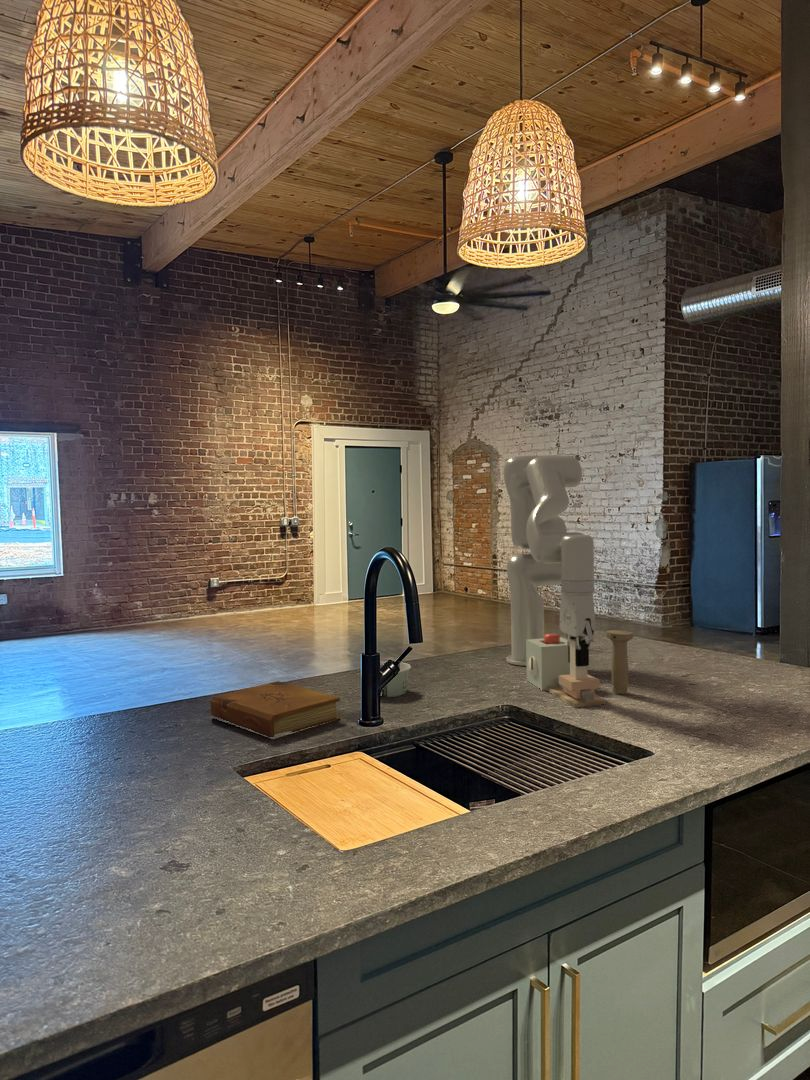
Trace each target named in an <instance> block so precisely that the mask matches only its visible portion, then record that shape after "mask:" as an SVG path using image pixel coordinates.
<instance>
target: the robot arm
mask: <svg viewBox="0 0 810 1080" xmlns="http://www.w3.org/2000/svg"><path fill="white" fill-rule="evenodd" d="M579 461H580V460H578V458H576V457H575V456H573V455H563V454H561V455H560V454H559V455H558V454H555V455H543V454H542V455H534V454H533V455H532V454H531V455H518V456H513V457H510V458H508V459H507V460H506V462H505V464H504V466H503V481H504V484H505V488H506V490H507V493H508V498H509V502H510V533H511V536H510V537H511V542H512V544H513V546H514V547H515V548H517V549H520V550H521V549H526V550H529V551H530V553H520V554H514V555H513V556H511V557H510V558H509V559H508V560H507V563H506V574H507V578H508V586H509V595H510V596H509V597H510V631H511V632H510V635H511V638H510V639H511V640H510V642H511V646H510V647H511V654H509V655H507V656H506V657H505V658H506V662H507V663H508V664H510V665H516V666H523V667H524V666H525V667H526V640H528V639H542V638H544V634H545V608H544V607H545V606H544V605H545V604H544V600H543V597H542V596H541V594H540V593H539V592H538V591H537V590H536V588H537V587H542V586H543V587H545V586H547V587H549V586H559V585H561V587H560V589H561V596H560V604H559V630H560V631H561V632H562V633H563V634H565V635H566V636H565V637H566V639H567V645H568V662H569V663H570V639H576V642H577V649H575V665H576V666H577V667H579V666H587V667H588V666H590V665H589V664H590V649H591V647H590V645H591V644H592V643H593V642H594V635H595V633H596V613H595V612H596V611H595V602H594V595H593V594H595V560H594V559H595V553H594V552H595V549H594V548H595V546H594V538H593V537H592V536H591V535H588V534H584V533H582V532H579V531H574V532H570V531H569V532H568V530H567V526H566V523H565V521H564V520H563V518H562V517H560V516H559V515H561V514H562V513H564V512H565V511H566V510H567V508H568V507H569V504H570V499H569V496H568V495H569V494H568V493H567V490H566V488H576V487H577V486H579V485H580V483H581V481H582V478H583V469H582V466H581V464H580V463H581V462H579ZM581 639H584V640H582V641H581Z"/></svg>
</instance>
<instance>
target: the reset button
mask: <svg viewBox="0 0 810 1080" xmlns="http://www.w3.org/2000/svg"><path fill="white" fill-rule="evenodd" d="M560 637H561V636H560V634H558V633H544V643H545V644H559V643H560Z"/></svg>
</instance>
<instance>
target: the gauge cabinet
mask: <svg viewBox="0 0 810 1080" xmlns="http://www.w3.org/2000/svg"><path fill="white" fill-rule="evenodd" d="M525 667H526V668H525V669H526V682H527V681H529V682H530V683H529V682H528V683H529V684H531V683H532V684H533V685H532V684H531V685H532V686H534V685H535V686H537V687H538V688H537V687H536V688H537V689H539V688H540V689H541V691H542V690H543V691H547V690H546V689H547V687H550V686H558V678H559V675H569V674H570V663H569V662H568V645H567V638H565V637H562V636H560V643H559V644H545V643H544V638H542V639H528V640H526V666H525ZM535 686H534V687H535ZM540 689H539V690H540Z"/></svg>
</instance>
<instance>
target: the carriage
mask: <svg viewBox="0 0 810 1080" xmlns="http://www.w3.org/2000/svg"><path fill="white" fill-rule="evenodd" d="M582 640H584V639H581V641H582ZM575 649H577V642H576V639H570V674H569V675H559V684H560V685H562V686H564V692H566V693H567V694H569V695H571V696H572V697H574V698H576V699H581V698H580V690H587V689H588V690H590V691H591V692H593V693H594V697H595V695H596V694H595V691H596V689H600V679H599V678H596V677H594V676H592V675H590V674H588V666H579V667H577V666H576V665H575Z"/></svg>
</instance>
